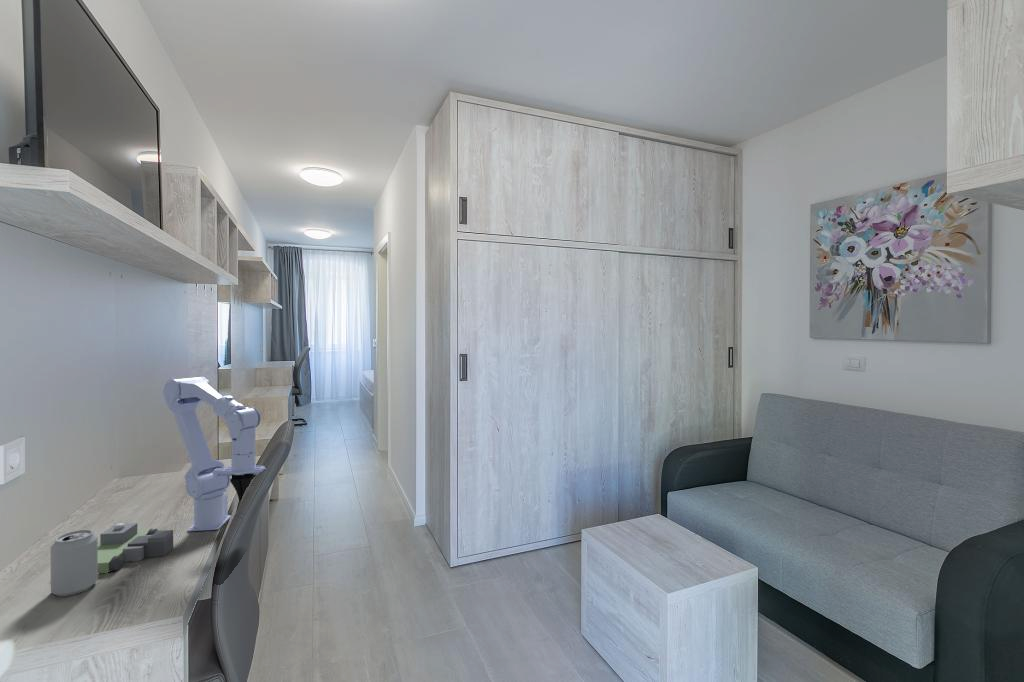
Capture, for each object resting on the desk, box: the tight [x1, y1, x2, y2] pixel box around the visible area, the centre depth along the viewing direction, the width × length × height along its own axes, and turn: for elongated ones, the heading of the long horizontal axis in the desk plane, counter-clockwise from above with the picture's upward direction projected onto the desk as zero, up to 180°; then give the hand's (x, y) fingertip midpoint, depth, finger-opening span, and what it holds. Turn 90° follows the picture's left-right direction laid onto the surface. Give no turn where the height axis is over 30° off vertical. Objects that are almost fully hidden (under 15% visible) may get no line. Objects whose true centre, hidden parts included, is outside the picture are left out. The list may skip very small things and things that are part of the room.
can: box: [50, 528, 99, 597], centre depth 102 cm, size 8×8×12 cm
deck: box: [98, 522, 159, 574], centre depth 116 cm, size 18×14×6 cm
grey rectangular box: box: [128, 529, 174, 558], centre depth 118 cm, size 4×8×5 cm, turn 101°
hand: (243, 501), depth 129 cm, fingers closed
